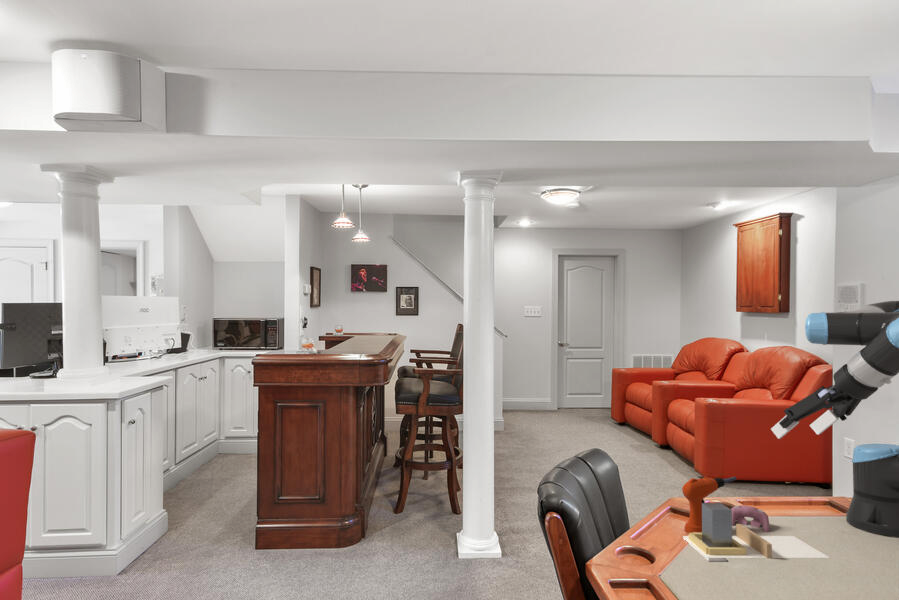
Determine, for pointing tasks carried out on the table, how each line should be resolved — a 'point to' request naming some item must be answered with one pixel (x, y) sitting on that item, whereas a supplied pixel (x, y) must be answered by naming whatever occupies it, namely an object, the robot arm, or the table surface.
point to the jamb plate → (754, 546)
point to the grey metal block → (716, 525)
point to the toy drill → (700, 498)
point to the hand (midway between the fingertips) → (795, 431)
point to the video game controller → (751, 512)
